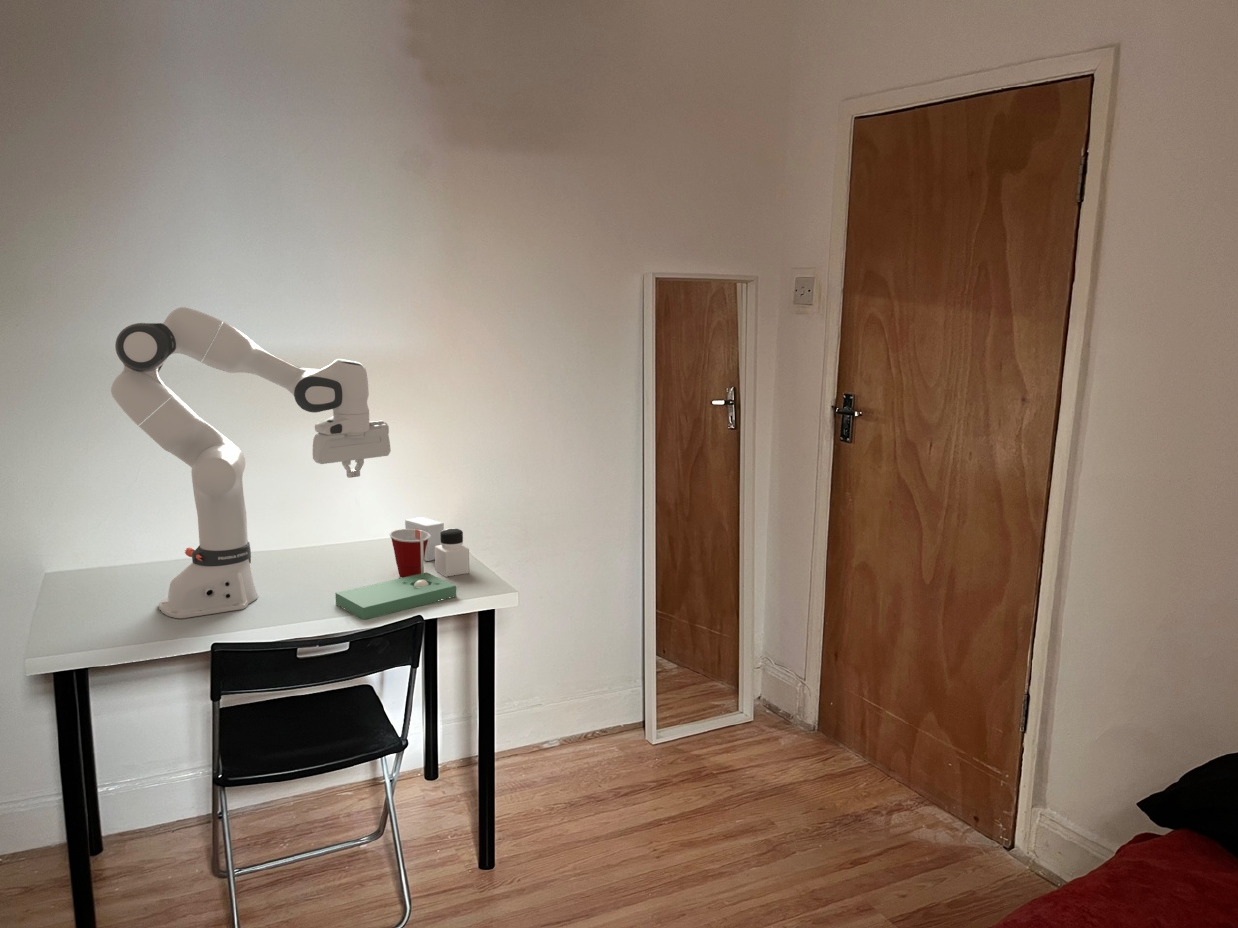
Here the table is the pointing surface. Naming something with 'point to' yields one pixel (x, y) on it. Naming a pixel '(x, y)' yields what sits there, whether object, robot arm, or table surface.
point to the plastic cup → (408, 551)
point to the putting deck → (395, 593)
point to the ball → (421, 583)
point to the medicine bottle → (451, 553)
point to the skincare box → (429, 527)
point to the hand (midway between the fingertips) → (353, 476)
